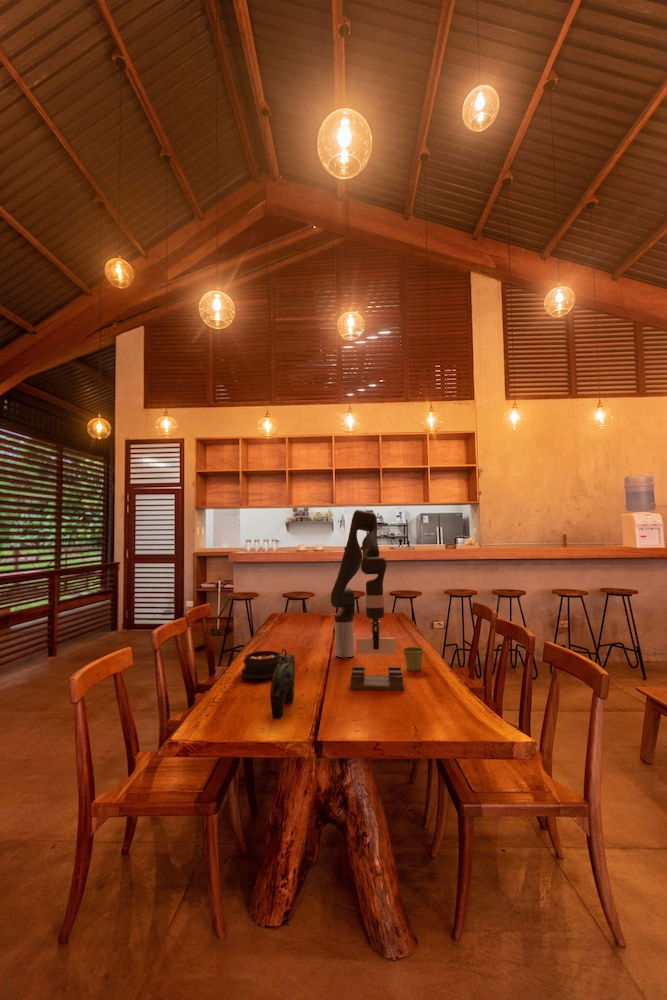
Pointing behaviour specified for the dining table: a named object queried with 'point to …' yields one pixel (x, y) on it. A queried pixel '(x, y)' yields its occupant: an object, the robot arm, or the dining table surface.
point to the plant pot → (413, 658)
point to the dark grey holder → (376, 680)
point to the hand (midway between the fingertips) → (376, 648)
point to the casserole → (260, 664)
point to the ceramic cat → (282, 684)
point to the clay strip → (385, 646)
